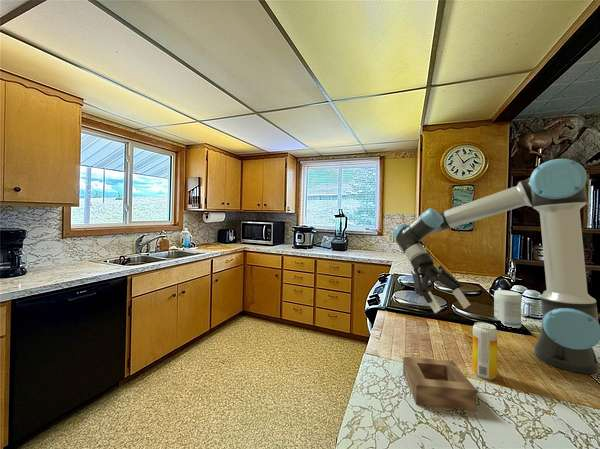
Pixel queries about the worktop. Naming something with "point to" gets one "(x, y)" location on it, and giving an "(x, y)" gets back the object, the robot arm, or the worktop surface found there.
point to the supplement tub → (508, 308)
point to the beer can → (484, 350)
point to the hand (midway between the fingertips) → (453, 308)
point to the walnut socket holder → (439, 383)
